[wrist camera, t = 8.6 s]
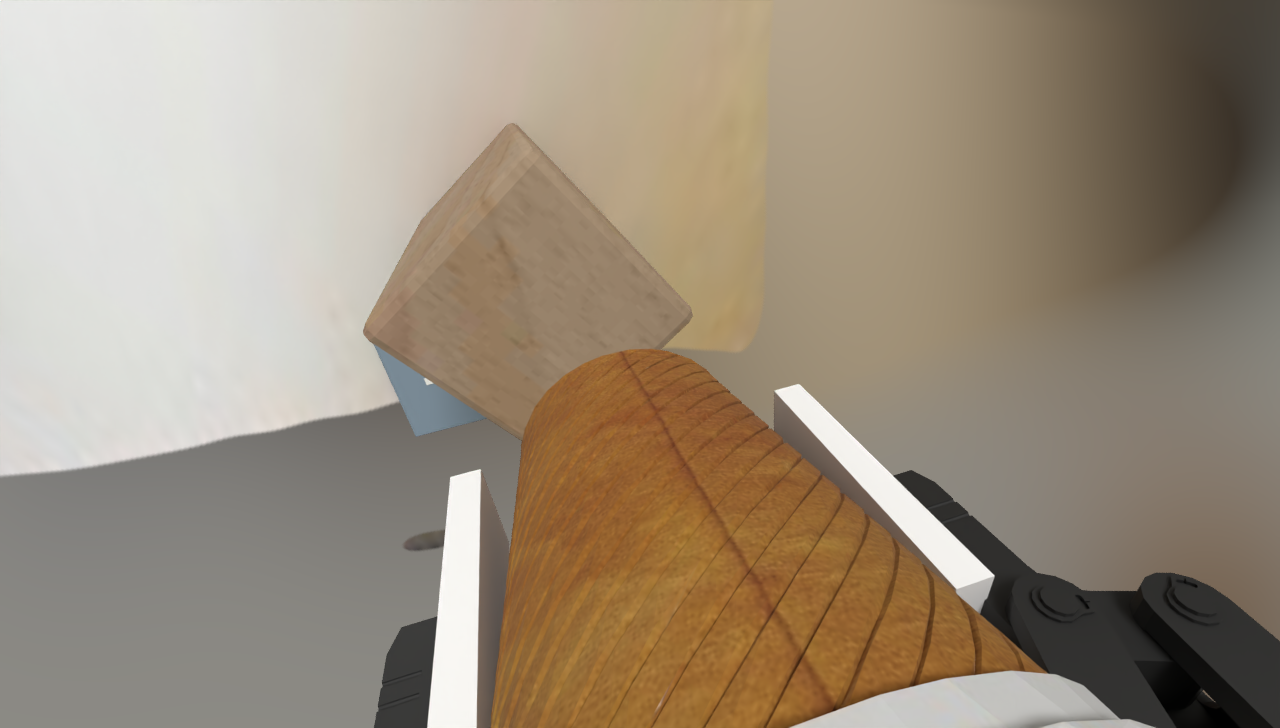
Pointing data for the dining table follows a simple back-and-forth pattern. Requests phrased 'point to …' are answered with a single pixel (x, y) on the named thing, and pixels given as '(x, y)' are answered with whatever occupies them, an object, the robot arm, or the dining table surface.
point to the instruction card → (425, 399)
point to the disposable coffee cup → (728, 581)
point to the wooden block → (518, 287)
